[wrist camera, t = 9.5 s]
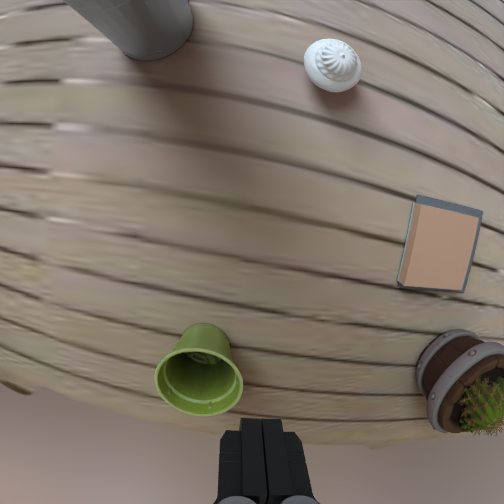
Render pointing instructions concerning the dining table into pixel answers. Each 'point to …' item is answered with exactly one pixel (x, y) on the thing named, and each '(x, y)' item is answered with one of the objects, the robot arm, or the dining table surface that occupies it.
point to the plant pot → (200, 373)
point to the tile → (437, 248)
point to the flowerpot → (462, 382)
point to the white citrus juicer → (332, 65)
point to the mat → (455, 208)
